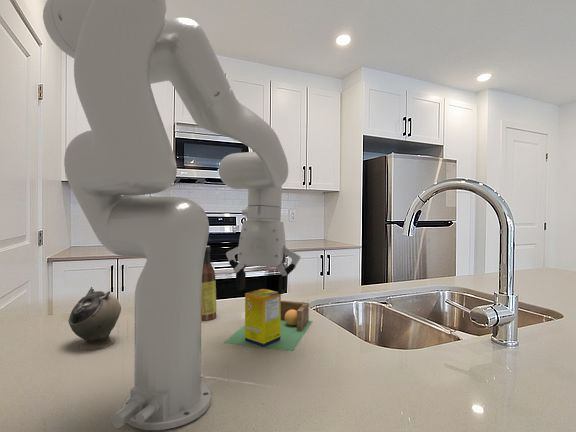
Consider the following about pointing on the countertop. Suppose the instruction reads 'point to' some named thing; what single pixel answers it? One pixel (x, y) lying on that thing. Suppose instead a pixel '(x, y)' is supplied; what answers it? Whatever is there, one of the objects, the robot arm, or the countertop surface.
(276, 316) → the supplement box
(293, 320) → the ball
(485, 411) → the countertop surface
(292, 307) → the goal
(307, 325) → the pitch
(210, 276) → the sauce bottle
